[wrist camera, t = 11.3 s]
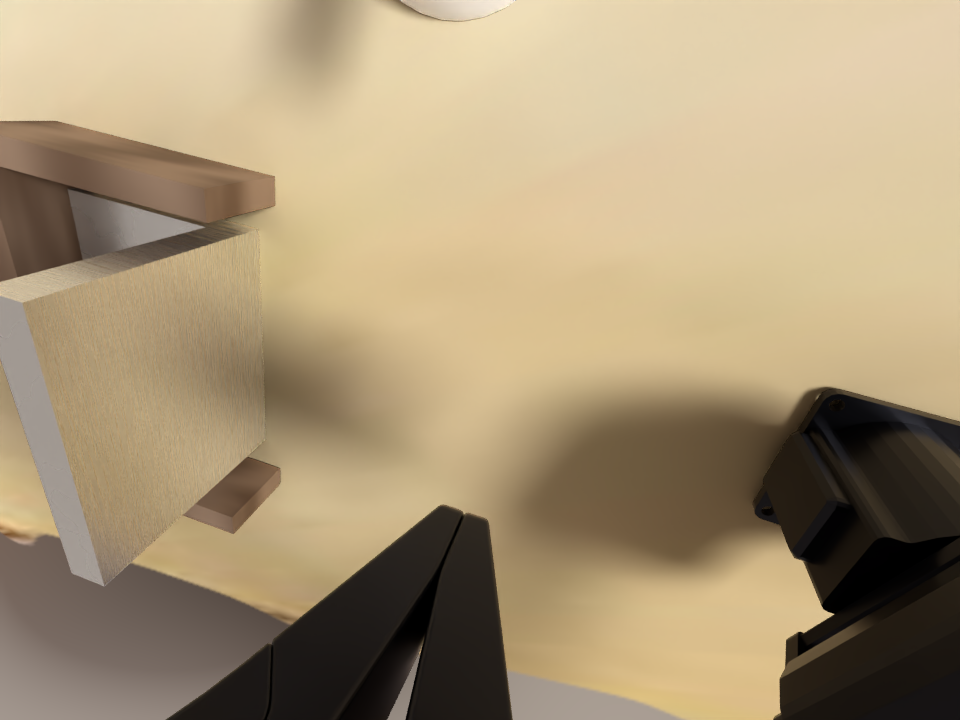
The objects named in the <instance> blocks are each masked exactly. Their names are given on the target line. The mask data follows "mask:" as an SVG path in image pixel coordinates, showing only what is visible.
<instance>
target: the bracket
mask: <svg viewBox="0 0 960 720" xmlns="http://www.w3.org/2000/svg"><path fill="white" fill-rule="evenodd" d="M68 194H69V198H70V203H71V208H72V212H73V217H74V222H75V226H76V231H77V236H78V240H79V245H80V249H81V254H82V259H83V260H81V261H77V262H73V263H70V264H66V265H62V266H58V267H55V268H51V269H47V270H43V271H40V272H36V273H32V274H28V275H25V276H21V277H17V278H13V279H10V280H6V281H2V282H0V359H1V362H2V365H3V368H4V371H5V374H6V377H7V380H8V383H9V386H10V389H11V392H12V395H13V398H14V401H15V404H16V407H17V410H18V413H19V416H20V419H21V422H22V425H23V428H24V431H25V434H26V437H27V440H28V443H29V446H30V449H31V452H32V455H33V458H34V461H35V464H36V467H37V470H38V473H39V476H40V479H41V482H42V485H43V488H44V491H45V494H46V497H47V500H48V503H49V506H50V509H51V512H52V515H53V518H54V521H55V524H56V527H57V530H58V533H59V536H60V539H61V542H62V545H63V548H64V551H65V554H66V557H67V560H68V563H69V566H70V569H71V572H72V573H73V574H75V575H78V576H80V577H83V578H85V579H88V580H90V581H92V582H95V583H97V584H100V585H102V586H105V585H106V584H108V583H109V582H110V581H111V580H112V579H113V578H114V577H115V576H116V575H118V574H119V573H120V572H121V571H122V570H123V569H124V568H125V567H126V566H127V565H129V564H130V563H131V562H132V561H133V560H134V559H135V558H136V557H137V556H138V555H140V554H141V553H142V552H143V551H144V550H145V549H146V548H147V547H148V546H149V545H150V544H152V543H153V542H154V541H155V540H156V539H157V538H158V537H159V536H160V535H161V534H163V533H164V532H165V531H166V530H167V529H168V528H169V527H170V526H171V525H172V524H174V523H175V522H176V521H177V520H178V519H179V518H180V517H181V516H182V515H183V514H185V513H186V512H187V511H188V510H189V509H190V508H191V507H192V506H193V505H194V504H196V503H197V502H198V501H199V500H200V499H201V498H202V497H203V496H204V495H205V494H207V493H208V492H209V491H210V490H211V489H212V488H213V487H214V486H215V485H216V484H218V483H219V482H220V481H221V480H222V479H223V478H224V477H225V476H226V475H227V474H229V473H230V472H231V471H232V470H233V469H234V468H235V467H236V466H237V465H238V464H239V463H241V462H242V461H243V460H244V459H245V458H246V457H247V456H248V455H249V454H250V453H252V452H253V451H254V450H255V449H256V448H257V447H258V446H259V445H260V444H261V443H263V442H264V441H265V440H266V427H265V397H264V367H263V337H262V307H261V278H260V248H259V229H257V228H253V227H249V226H246V225H242V224H238V223H235V222H231V221H227V220H224V219H221V220H217V221H213V222H209V223H204V222H201V221H197V220H193V219H190V218H186V217H182V216H179V215H175V214H172V213H168V212H164V211H161V210H157V209H153V208H150V207H146V206H142V205H139V204H135V203H131V202H128V201H124V200H120V199H117V198H113V197H109V196H106V195H102V194H98V193H95V192H91V191H87V190H84V189H80V188H71V189H68Z"/></svg>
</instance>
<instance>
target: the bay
mask: <svg viewBox="0 0 960 720" xmlns="http://www.w3.org/2000/svg"><path fill="white" fill-rule="evenodd" d="M71 188H80V189H84V190H87V191H91V192H95V193H98V194H102V195H106V196H109V197H113V198H117V199H120V200H124V201H128V202H131V203H135V204H139V205H142V206H146V207H150V208H153V209H157V210H161V211H164V212H168V213H172V214H175V215H179V216H182V217H186V218H190V219H193V220H197V221H201V222H204V223H209V222H213V221H217V220H221V219H225V218H229V217H233V216H237V215H240V214H244V213H248V212H252V211H256V210H260V209H264V208H268V207H272V206H275V177H274V176H270V175H266V174H262V173H259V172H255V171H251V170H247V169H243V168H239V167H235V166H231V165H227V164H223V163H219V162H215V161H211V160H207V159H203V158H199V157H195V156H191V155H187V154H184V153H180V152H176V151H172V150H168V149H164V148H160V147H156V146H152V145H148V144H144V143H140V142H136V141H132V140H128V139H124V138H120V137H116V136H113V135H109V134H105V133H101V132H97V131H93V130H89V129H85V128H81V127H77V126H73V125H69V124H65V123H61V122H57V121H0V282H2V281H6V280H10V279H13V278H17V277H21V276H25V275H28V274H32V273H36V272H40V271H43V270H47V269H51V268H55V267H58V266H62V265H66V264H70V263H73V262H77V261H81V260H83V259H82V254H81V249H80V245H79V240H78V236H77V231H76V226H75V222H74V217H73V212H72V208H71V203H70V198H69V194H68V189H71ZM279 484H280V468H278V467H275V466H272V465H269V464H266V463H263V462H260V461H257V460H254V459H251V458H248V457H246V458H245V459H244V460H243V461H242V462H241V463H239V464H238V465H237V466H236V467H235V468H234V469H233V470H232V471H231V472H230V473H229V474H227V475H226V476H225V477H224V478H223V479H222V480H221V481H220V482H219V483H218V484H216V485H215V486H214V487H213V488H212V489H211V490H210V491H209V492H208V493H207V494H205V495H204V496H203V497H202V498H201V499H200V500H199V501H198V502H197V503H196V504H194V505H193V506H192V507H191V508H190V509H189V510H188V511H187V512H186V513H185V514H183V515H184V516H186V517H189V518H192V519H194V520H197V521H200V522H203V523H205V524H208V525H211V526H213V527H216V528H219V529H222V530H224V531H227V532H230V533H232V534H234V533H235V532H236V531H237V530H238V529H239V528H240V527H241V525H242V524H243V523H244V522H245V521H246V520H247V519H248V518H249V517H250V516H251V515H252V514H253V512H254V511H255V510H256V509H257V508H258V507H259V506H260V505H261V504H262V503H263V502H264V501H265V500H266V498H267V497H268V496H269V495H270V494H271V493H272V492H273V491H274V490H275V489H276V488H277V487H278V486H279Z"/></svg>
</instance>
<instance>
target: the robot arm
mask: <svg viewBox="0 0 960 720" xmlns="http://www.w3.org/2000/svg"><path fill="white" fill-rule="evenodd" d="M834 400H841V401H840V403H839V404H838V405H835V406H829V404H830V403H831V402H832V401H834ZM763 483H764V485H763V487H762V488H761V490H760V492H759V493H758V495H757V496H756V498H755V500H754V502H753V508H754V511H755V514H756V515H757V516H758V517H759V518H761V519H763V520H766V521H769V522H773V523H776V524H779V525H780V526H781V529H782V531H783V534H784V537H785V539H786V542H787V544H788V547H789V549H790V551H791V553H792V555H793V556H794V558H796V559H799V560H802V561H803V562H804V564H805V566H806V569H807V571H808V574H809V576H810V579H811V581H812V583H813V586H814V588H815V591H816V593H817V596H818V598H819V600H820V603H821V605H822V607H823V609H824V610H826V611H828V612H830V613H833V614H834V615H833V616H831V617H829V618H828V619H826V620H825V621H823V622H821V623H820V624H818V625H816V626H815V627H813V628H812V629H810V630H808V631H807V632H805V633H802V632H798V633H796V634H795V635H793V636H791V637H790V638H788V639H787V640H786V662H785V670H784V671H783V673H782V675H781V677H780V710H781V713H780V714H778V715H776V716H775V717H774V719H773V720H960V422H959V421H955V420H951V419H948V418H944V417H940V416H937V415H933V414H929V413H926V412H922V411H918V410H915V409H911V408H907V407H904V406H900V405H896V404H893V403H889V402H885V401H881V400H878V399H874V398H870V397H867V396H863V395H859V394H856V393H852V392H848V391H845V390H841V389H829V390H827V391H825V392H823V393H822V394H821V395H820V396H819V397H818V399H817V401H816V402H815V404H814V405H813V407H812V408H811V410H810V412H809V413H808V415H807V416H806V418H805V420H804V421H803V423H802V424H801V426H800V428H799V429H798V431H797V432H795V433H793V434H791V435H790V436H789V438H788V439H787V441H786V443H785V444H784V446H783V447H782V449H781V451H780V452H779V454H778V456H777V457H776V459H775V460H774V462H773V464H772V465H771V467H770V468H769V470H768V472H767V473H766V475H765V477H764V478H763ZM767 506H769V507H771V508H769V509H762V508H764V507H767ZM422 645H423V646H422ZM421 647H422V650H421V654H420V659H419V663H418V667H417V672H416V677H415V681H414V685H413V689H412V694H411V699H410V703H409V707H408V711H407V716H406V720H513V719H512V711H511V702H510V694H509V686H508V678H507V669H506V661H505V653H504V645H503V636H502V628H501V620H500V611H499V603H498V595H497V587H496V578H495V570H494V562H493V554H492V545H491V537H490V529H489V523H488V520H487V519H485V518H482V517H479V516H477V515H474V514H471V513H466V514H465V515H464V514H463V512H462V511H461V510H459V509H456V508H453V507H450V506H447V505H440V506H438V507H437V508H436V509H435V510H433V511H432V512H431V513H430V514H428V515H427V516H426V517H425V518H423V519H422V520H421V521H420V522H418V523H417V524H416V525H415V526H413V527H412V528H411V529H410V530H408V531H407V532H406V533H405V534H403V535H402V536H401V537H400V538H398V539H397V540H396V541H395V542H393V543H392V544H391V545H390V546H389V547H387V548H386V549H385V550H384V551H382V552H381V553H380V554H379V555H377V556H376V557H375V558H374V559H372V560H371V561H370V562H369V563H367V564H366V565H365V566H364V567H362V568H361V569H360V570H359V571H357V572H356V573H355V574H354V575H352V576H351V577H350V578H349V579H348V580H346V581H345V582H344V583H343V584H341V585H340V586H339V587H338V588H336V589H335V590H334V591H333V592H331V593H330V594H329V595H328V596H326V597H325V598H324V599H323V600H321V601H320V602H319V603H318V604H316V605H315V606H314V607H313V608H311V609H310V610H309V611H308V612H306V613H305V614H304V615H303V616H302V617H300V618H299V619H298V620H297V621H295V622H294V623H293V624H292V625H290V626H289V627H288V628H287V629H285V630H284V631H283V632H282V633H281V634H279V635H278V636H277V637H275V638H274V639H273V642H272V645H271V644H266V645H265V646H264V647H263V648H261V649H260V650H259V651H258V652H256V653H255V654H254V655H253V656H251V657H250V658H249V659H248V660H247V661H245V662H244V663H243V664H241V665H240V666H239V667H238V668H236V669H235V670H234V671H232V672H231V673H230V674H228V675H227V676H226V677H224V678H223V679H222V680H221V681H219V682H218V683H217V684H215V685H214V686H213V687H211V688H210V689H209V690H207V691H206V692H205V693H204V694H202V695H201V696H199V697H198V698H196V699H195V700H193V701H192V702H190V703H189V704H188V705H186V706H185V707H183V708H182V709H181V710H179V711H177V712H176V713H175V714H173V715H172V716H170V717H169V718H167V719H166V720H387V719H388V716H389V714H390V712H391V710H392V708H393V706H394V704H395V702H396V700H397V698H398V695H399V694H400V691H401V689H402V687H403V685H404V683H405V681H406V679H407V677H408V675H409V673H410V671H411V669H412V666H413V664H414V662H415V660H416V658H417V656H418V654H419V651H420V649H421Z"/></svg>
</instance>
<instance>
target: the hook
mask: <svg viewBox="0 0 960 720" xmlns="http://www.w3.org/2000/svg"><path fill="white" fill-rule="evenodd" d="M400 1H401V2H403V3H404V4H406V5H408V6H409V7H411V8H413V9H414V10H416V11H418V12H419V13H421V14H425V15H428V16H431V17H434V18H437V19H440V20H453V21H466V20H471V19H477V18H482V17H486V16H488V15H490V14H493V13H495V12H497V11H500V10H502V9H504V8H506V7H508V6H509V5H510V4H512V3H513V2H514V1H516V0H400Z"/></svg>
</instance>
